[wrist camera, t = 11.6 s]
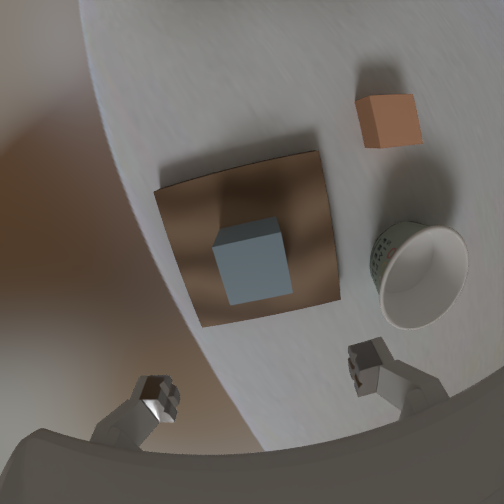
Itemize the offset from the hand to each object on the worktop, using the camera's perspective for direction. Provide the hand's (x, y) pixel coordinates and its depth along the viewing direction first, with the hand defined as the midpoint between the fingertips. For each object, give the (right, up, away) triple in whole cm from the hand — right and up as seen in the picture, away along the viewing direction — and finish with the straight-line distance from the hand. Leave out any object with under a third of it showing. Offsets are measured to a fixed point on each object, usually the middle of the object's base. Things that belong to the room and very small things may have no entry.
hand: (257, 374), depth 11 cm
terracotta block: (+13, +19, +13) cm, 26 cm away
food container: (+18, +5, +18) cm, 26 cm away
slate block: (0, +6, +16) cm, 17 cm away
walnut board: (0, +6, +18) cm, 19 cm away
